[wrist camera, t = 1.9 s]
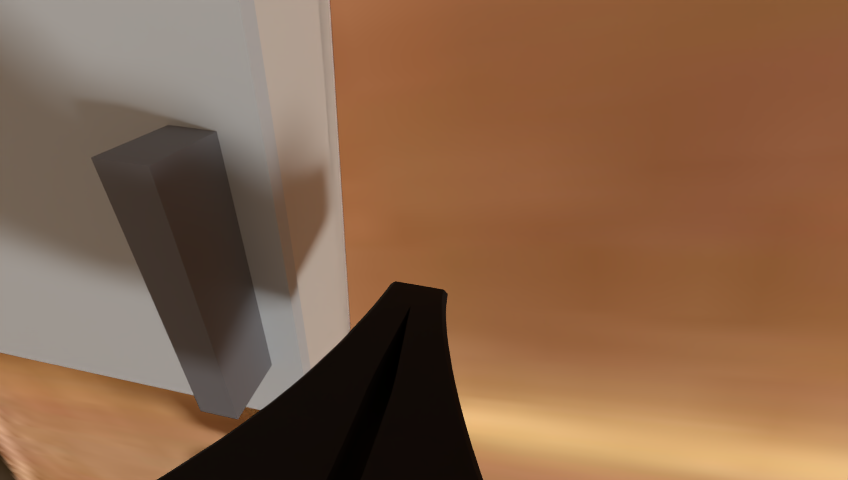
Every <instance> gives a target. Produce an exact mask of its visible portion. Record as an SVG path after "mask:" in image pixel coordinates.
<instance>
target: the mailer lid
mask: <svg viewBox="0 0 848 480" xmlns="http://www.w3.org/2000/svg"><path fill="white" fill-rule="evenodd" d="M0 353H4V354H9V355H13V356H18V357H22V358H27V359H31V360H36V361H40V362H45V363H49V364H54V365H59V366H63V367H68V368H72V369H77V370H81V371H86V372H90V373H95V374H99V375H104V376H108V377H113V378H117V379H122V380H126V381H131V382H136V383H140V384H145V385H149V386H154V387H158V388H163V389H167V390H172V391H176V392H181V393H185V394H190V395H194V397H195V399H196V401H197V404H198V406H199V408H200V410H201V411H203V412H207V413H212V414H216V415H221V416H225V417H229V418H234V419H239V417H240V415H241V414H242V412H243V411H244V409H245V407H249V408H253V409H258V410H261V409H263V408H264V407H265V406H267V405H268V404H269V403H271V402H272V401H273V400H275V399H276V398H277V397H278V396H280V395H281V394H282V393H283V392H284V391H286V390H287V389H288V388H289V387H291V386H292V385H293V384H294V383H295V382H297V381H298V380H299V379H300V378H301V377H302V376H304V375H305V374H306V373H307V372H308V371H309V370H310V369H311V367H310V361H309V354H308V348H307V341H306V335H305V328H304V322H303V315H302V309H301V302H300V296H299V289H298V283H297V276H296V270H295V263H294V257H293V250H292V244H291V238H290V231H289V225H288V218H287V212H286V205H285V199H284V192H283V186H282V179H281V173H280V166H279V160H278V153H277V147H276V140H275V134H274V127H273V121H272V114H271V108H270V101H269V95H268V88H267V82H266V75H265V69H264V62H263V56H262V49H261V43H260V37H259V30H258V24H257V17H256V11H255V4H254V0H0Z"/></svg>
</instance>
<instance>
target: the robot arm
mask: <svg viewBox="0 0 848 480" xmlns="http://www.w3.org/2000/svg"><path fill="white" fill-rule="evenodd" d="M447 295H448V294H447V293H446V292H445V291H444V290H443V289H437V288H431V287H425V286H419V285H414V284H408V283H402V282H396V281H395V282H393V283H392V284H391V285H390V286H389V287H388V289H387V290H386V291H385V292H384V294H383V295H382V296H381V297H380V299H379V300H378V301H377V302H376V303H375V305H374V306H373V307H372V308H371V309H370V310H369V311H368V313H367V314H366V315H365V316H364V317H363V318H362V319H361V320H360V321H359V322H358V323H357V325H356V326H355V327H354V328H353V329H352V330H351V331H350V332H349V333H348V334H347V335H346V336H345V337H344V338H343V339H342V340H341V341H340V342H339V343H338V344H337V345H336V346H335V347H334V348H333V349H332V350H331V351H330V352H329V353H328V354H327V355H326V356H324V357H323V358H322V359H321V360H320V361H319V362H318V363H317V364H316V365H315V366H314V367H313V368H312V369H310V370H309V371H308V372H307V373H306V374H305V375H304V376H302V377H301V378H300V379H299V380H298V381H297V382H295V383H294V384H293V385H292V386H291V387H289V388H288V389H287V390H286V391H284V392H283V393H282V394H281V395H280V396H278V397H277V398H276V399H275V400H273V401H272V402H271V403H269V404H268V405H267V406H265V407H264V408H263V409H261V410H260V411H259V412H257V413H256V414H255V415H253V416H252V417H251V418H249V419H248V420H247V421H245V422H244V423H243V424H241V425H240V426H238V427H237V428H235V429H234V430H233V431H231V432H230V433H228V434H227V435H225V436H224V437H223V438H221V439H220V440H218V441H217V442H215V443H213V444H212V445H210V446H209V447H207V448H206V449H204V450H203V451H201V452H200V453H198V454H196V455H195V456H193V457H192V458H190V459H189V460H187V461H186V462H184V463H183V464H181V465H179V466H178V467H176V468H175V469H173V470H172V471H170V472H169V473H167V474H165V475H164V476H162V477H160V478H159V479H157V480H483V478H482V475H481V472H480V469H479V466H478V463H477V460H476V457H475V454H474V451H473V448H472V445H471V441H470V438H469V434H468V431H467V428H466V424H465V421H464V417H463V413H462V410H461V406H460V402H459V397H458V393H457V389H456V384H455V380H454V375H453V370H452V364H451V358H450V352H449V346H448V338H447V327H446V303H447Z"/></svg>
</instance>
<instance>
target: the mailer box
mask: <svg viewBox="0 0 848 480" xmlns="http://www.w3.org/2000/svg"><path fill="white" fill-rule="evenodd" d="M254 4H255V11H256V17H257V24H258V30H259V37H260V43H261V49H262V56H263V62H264V69H265V75H266V82H267V88H268V95H269V101H270V108H271V114H272V121H273V127H274V134H275V140H276V147H277V153H278V160H279V166H280V173H281V179H282V186H283V192H284V199H285V205H286V212H287V218H288V225H289V231H290V238H291V244H292V250H293V257H294V263H295V270H296V276H297V283H298V289H299V296H300V302H301V309H302V315H303V322H304V328H305V335H306V341H307V348H308V354H309V361H310V367H311V369H312V368H313V367H314V366H315V365H316V364H317V363H318V362H319V361H320V360H321V359H322V358H323V357H324V356H326V355H327V354H328V353H329V352H330V351H331V350H332V349H333V348H334V347H335V346H336V345H337V344H338V343H339V342H340V341H341V340H342V339H343V338H344V337H345V336H346V335H347V334H348V333H349V330H350V318H349V302H348V286H347V271H346V255H345V239H344V223H343V207H342V191H341V175H340V159H339V143H338V127H337V111H336V96H335V80H334V64H333V48H332V32H331V16H330V0H254Z"/></svg>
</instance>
